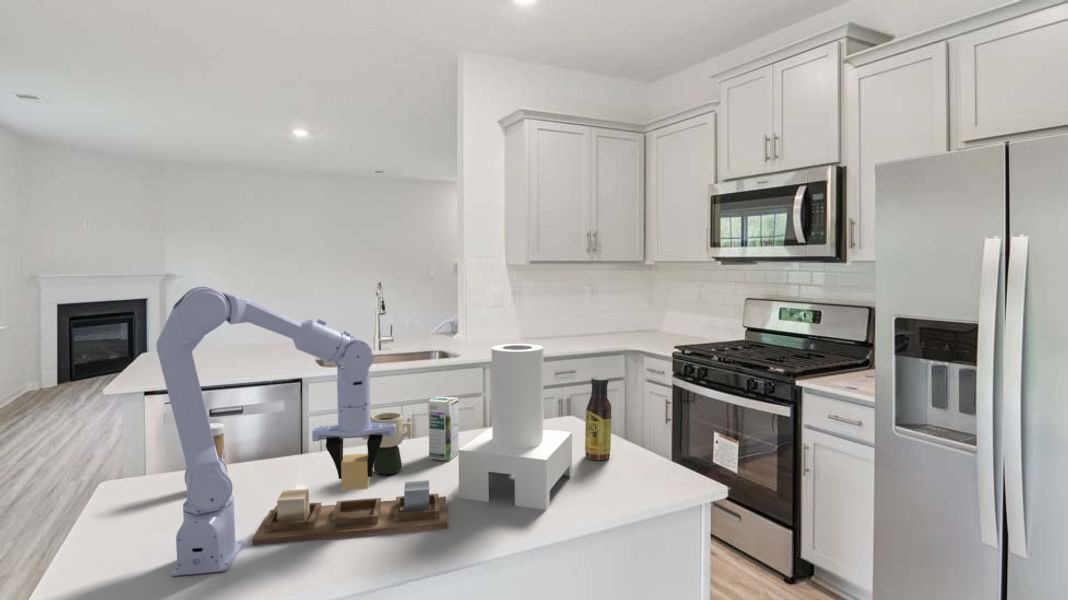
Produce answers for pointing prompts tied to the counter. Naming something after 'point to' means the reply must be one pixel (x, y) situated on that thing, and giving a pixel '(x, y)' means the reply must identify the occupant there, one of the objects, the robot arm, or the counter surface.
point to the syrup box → (443, 428)
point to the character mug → (390, 443)
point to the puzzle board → (352, 516)
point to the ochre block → (355, 472)
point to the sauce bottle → (598, 421)
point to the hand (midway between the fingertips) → (356, 476)
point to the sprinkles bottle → (218, 439)
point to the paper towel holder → (516, 433)
